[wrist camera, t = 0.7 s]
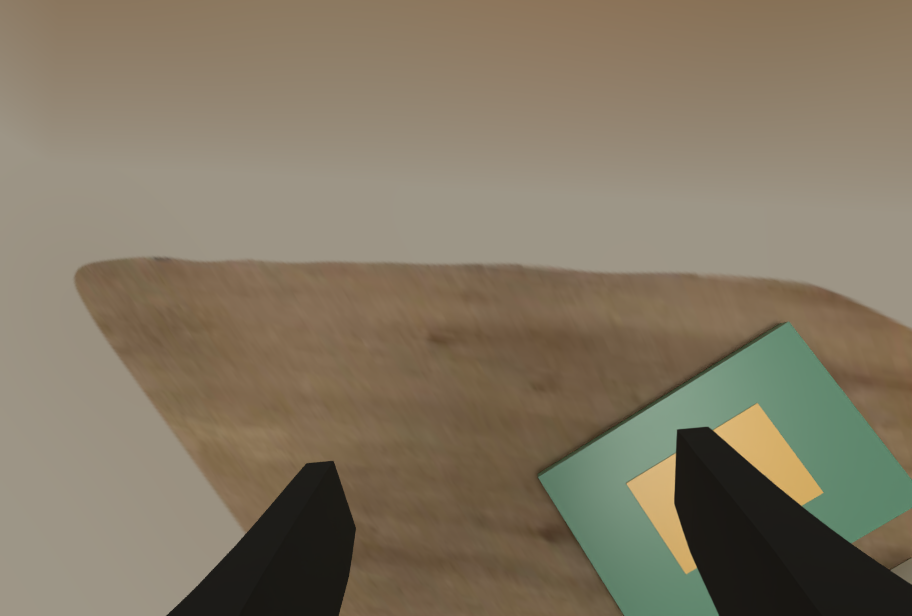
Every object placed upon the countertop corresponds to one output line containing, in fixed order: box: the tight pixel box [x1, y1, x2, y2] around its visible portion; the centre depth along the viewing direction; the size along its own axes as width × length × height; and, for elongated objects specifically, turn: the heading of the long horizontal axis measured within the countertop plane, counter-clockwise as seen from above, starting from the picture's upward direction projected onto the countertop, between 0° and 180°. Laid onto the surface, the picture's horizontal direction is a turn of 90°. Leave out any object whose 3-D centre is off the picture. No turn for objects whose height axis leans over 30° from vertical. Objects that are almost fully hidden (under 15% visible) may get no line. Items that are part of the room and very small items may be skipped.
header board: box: [538, 322, 912, 616], centre depth 31 cm, size 12×18×4 cm, turn 122°
